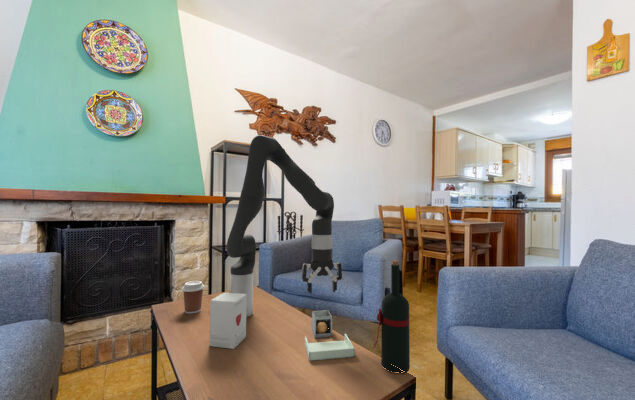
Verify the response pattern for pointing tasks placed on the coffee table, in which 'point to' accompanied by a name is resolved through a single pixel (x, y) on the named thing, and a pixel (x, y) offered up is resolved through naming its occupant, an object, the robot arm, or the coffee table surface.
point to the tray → (330, 349)
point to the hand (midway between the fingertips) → (321, 292)
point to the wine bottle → (394, 327)
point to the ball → (321, 327)
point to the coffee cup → (193, 296)
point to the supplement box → (227, 320)
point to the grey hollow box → (321, 317)
